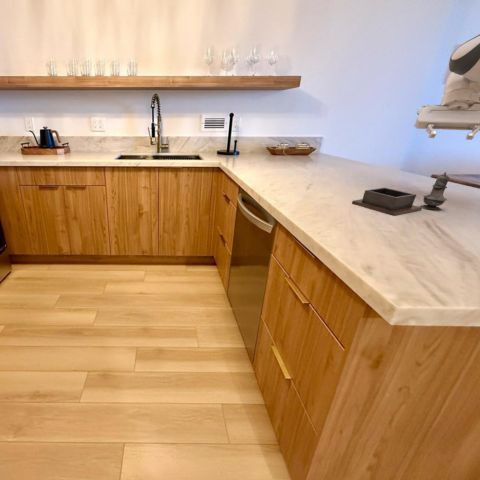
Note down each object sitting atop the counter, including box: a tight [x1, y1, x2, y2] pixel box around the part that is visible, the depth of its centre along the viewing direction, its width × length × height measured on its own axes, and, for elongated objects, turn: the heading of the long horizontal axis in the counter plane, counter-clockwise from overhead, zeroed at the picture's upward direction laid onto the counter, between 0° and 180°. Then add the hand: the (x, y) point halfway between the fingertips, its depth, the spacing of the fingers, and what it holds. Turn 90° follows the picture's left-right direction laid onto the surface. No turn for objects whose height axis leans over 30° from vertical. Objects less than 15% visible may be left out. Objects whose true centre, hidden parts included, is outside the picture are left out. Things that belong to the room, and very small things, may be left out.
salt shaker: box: [420, 172, 450, 212], centre depth 93 cm, size 6×6×12 cm
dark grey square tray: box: [351, 187, 423, 217], centre depth 96 cm, size 14×14×5 cm
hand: (450, 137), depth 96 cm, fingers open, 8 cm apart
